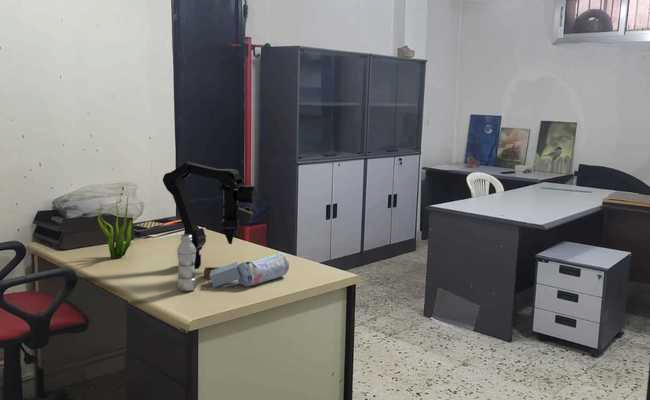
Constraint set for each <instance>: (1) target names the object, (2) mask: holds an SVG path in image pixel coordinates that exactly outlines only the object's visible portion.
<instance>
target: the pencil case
mask: <svg viewBox="0 0 650 400" xmlns="http://www.w3.org/2000/svg"><path fill="white" fill-rule="evenodd" d="M289 269H290V262H289V260H288V258H287V256H286V255H285V254H284V253H281V252H278V253H276V254H273V255H272V254H271V255H270V256H269V255H268V256H266V257H263V258H260V259H256V260H252V261H251V260H250V261H247V260H246V261H243V262H240V263H238V266H237V270H238V273H239V275H240V279H238V280H237V281H239V283H240V284H241V286H242V287H243V286H244V287H254V286H257V285H259V284H262V283H263V284H264V283H266V282H269V281H272V280H276V279H278V278H281V277H283V276H286V275H287V273H288V271H289Z"/></svg>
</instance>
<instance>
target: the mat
mask: <svg viewBox="0 0 650 400" xmlns="http://www.w3.org/2000/svg"><path fill="white" fill-rule="evenodd" d="M239 288H240V289H241V288H242V284H240V283H239V281H238V280H235V281H232V282H229V283H226V284H223V285H220V286H217V287H213V284H212V282H211V280H209V281H208V282H207V285H206V289H239Z"/></svg>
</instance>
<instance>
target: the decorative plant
mask: <svg viewBox="0 0 650 400" xmlns="http://www.w3.org/2000/svg"><path fill="white" fill-rule="evenodd" d="M129 195H130V193H128V195H127V197H126V205H125V212H124V218H123V225H122V226H121V227H120V228H119V209H118V202H116V203H115V206H116V219H115V230H116V231H114V227H113V226H112V225H111V224H110V223H108V222H107V220H104V218H103V217H102V214H101V212H102V211H103V207H102V203H101V202H99V203H100V208H101V209H100V211H99V212H98V213H97V222H98V224H99V226H100V229H101V231H102V233H104V235H105V236H106V238H107V244H108V249H109V254H110V258H114V259H118V258H122V257H124V256H125V254H126V253H127V251H128V249H129V248H130V246H131V245H132V244H131V243H132V236H131V235H132V233H131V232H132V231H131V230H132V225H133V222H134V221H135V220H136V219H138V218H139V217H140V216H141V215H142V213H143V210H141V212H140V214H138V216H136V217H133V219H131V220H130V221H129V222H128V226H127V215H128V204H129ZM116 200H118V198H117V196H116ZM141 209H143V206H142V207H141ZM102 221H103V222H102ZM103 223H104V224H103ZM107 226H108V227H109V228H110V229H109V231H110V232H109V231H108V229H107ZM126 228H127V229H126ZM125 231H126V239H124V238H125V237H124V234H125ZM115 232H116V234H115ZM114 235H115V237H116V240H114ZM124 240H125V241H124Z"/></svg>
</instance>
